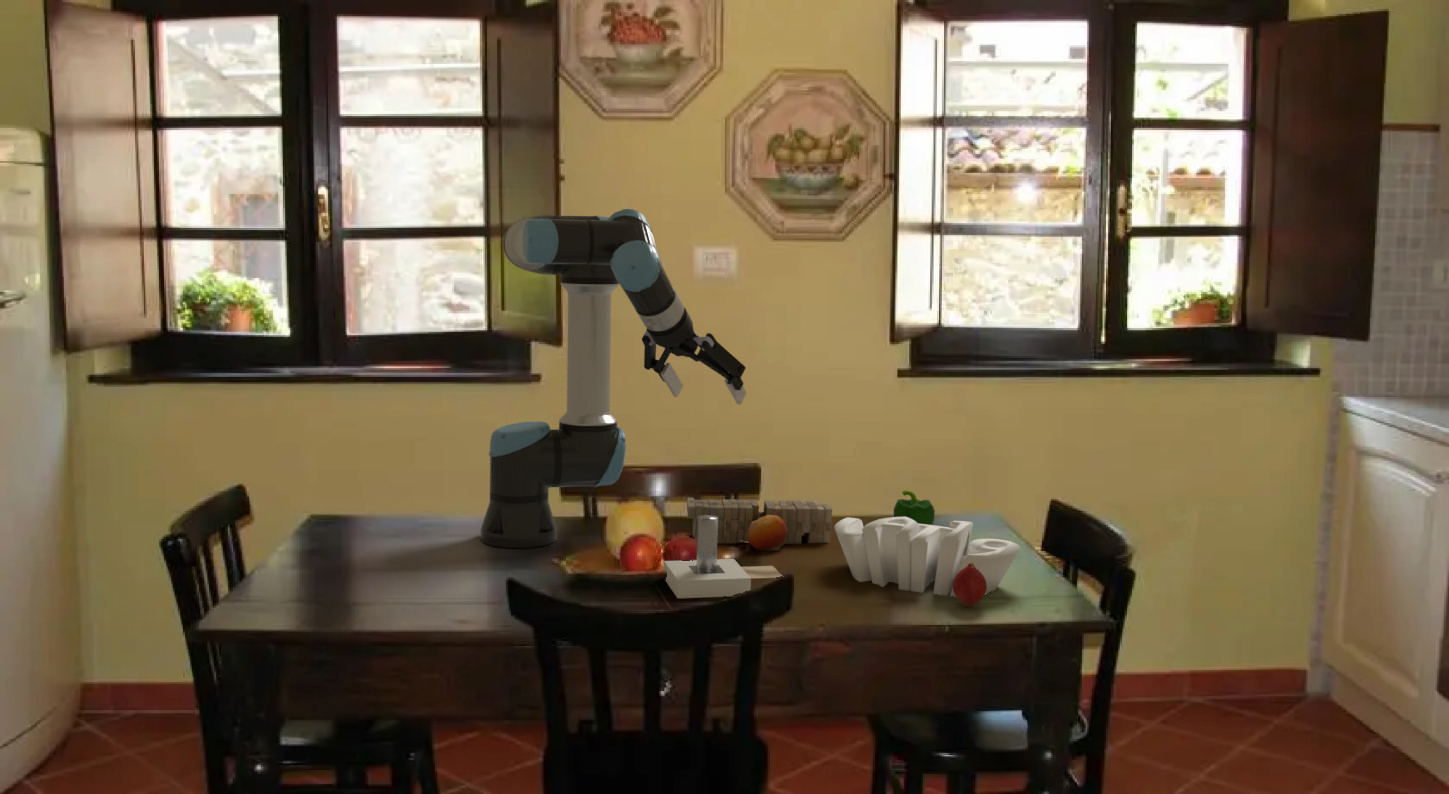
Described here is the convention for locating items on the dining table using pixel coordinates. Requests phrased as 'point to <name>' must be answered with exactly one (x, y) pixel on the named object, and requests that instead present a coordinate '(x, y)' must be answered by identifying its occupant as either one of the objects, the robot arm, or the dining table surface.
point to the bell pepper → (915, 509)
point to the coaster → (761, 572)
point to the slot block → (706, 579)
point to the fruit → (767, 533)
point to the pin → (707, 544)
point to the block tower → (743, 512)
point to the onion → (969, 585)
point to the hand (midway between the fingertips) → (709, 395)
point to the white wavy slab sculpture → (920, 553)
